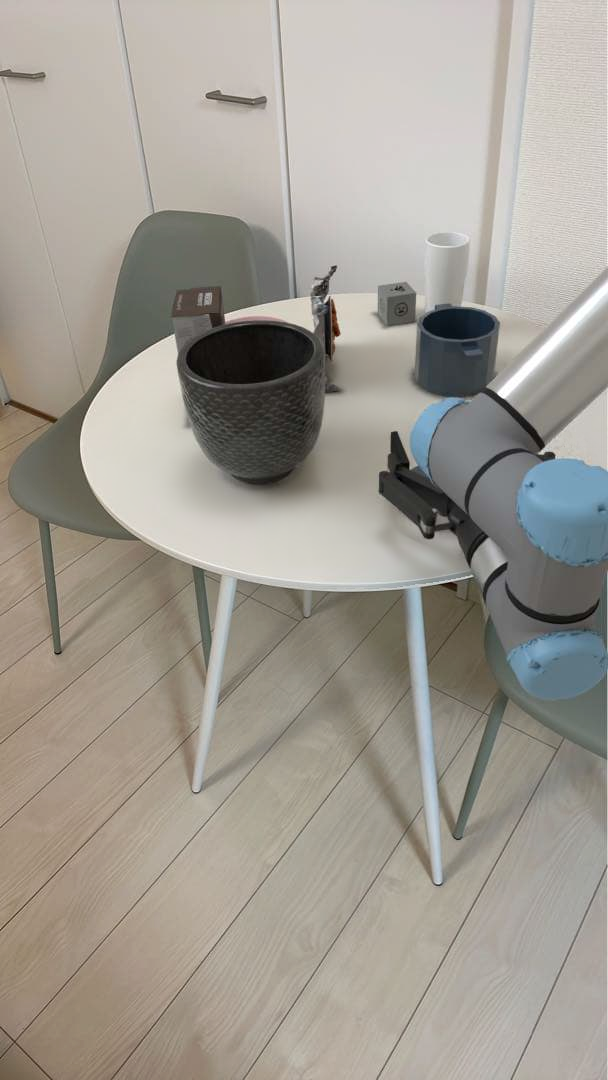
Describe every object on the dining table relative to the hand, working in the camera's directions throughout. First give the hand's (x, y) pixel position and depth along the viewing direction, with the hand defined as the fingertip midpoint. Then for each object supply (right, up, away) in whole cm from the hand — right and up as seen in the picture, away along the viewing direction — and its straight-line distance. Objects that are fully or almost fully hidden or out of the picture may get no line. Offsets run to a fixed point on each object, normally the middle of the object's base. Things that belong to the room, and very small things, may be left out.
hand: (447, 434), depth 89 cm
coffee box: (-30, +7, +21) cm, 37 cm away
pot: (+5, +12, +23) cm, 27 cm away
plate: (-25, +19, +35) cm, 47 cm away
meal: (-13, +14, +28) cm, 34 cm away
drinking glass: (+6, +22, +35) cm, 41 cm away
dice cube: (-1, +25, +40) cm, 47 cm away
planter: (-22, -3, +9) cm, 24 cm away
